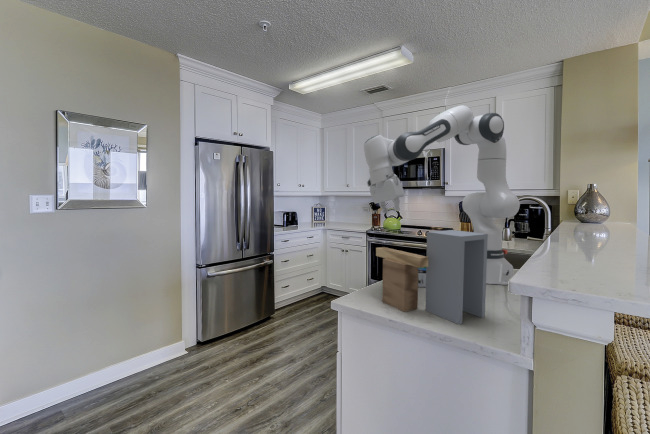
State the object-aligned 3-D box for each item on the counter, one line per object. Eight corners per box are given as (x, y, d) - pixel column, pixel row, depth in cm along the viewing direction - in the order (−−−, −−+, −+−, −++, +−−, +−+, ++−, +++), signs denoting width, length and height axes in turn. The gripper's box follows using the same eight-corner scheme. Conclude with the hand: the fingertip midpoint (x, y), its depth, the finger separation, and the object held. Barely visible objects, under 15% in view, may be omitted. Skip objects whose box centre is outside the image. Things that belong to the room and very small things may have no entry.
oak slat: (383, 254, 120) (383, 247, 120) (428, 266, 101) (428, 257, 100) (376, 255, 118) (376, 247, 118) (419, 267, 99) (420, 258, 99)
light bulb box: (430, 287, 131) (430, 261, 130) (413, 286, 132) (413, 261, 132) (427, 280, 141) (427, 256, 141) (411, 280, 143) (411, 256, 142)
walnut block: (395, 299, 117) (396, 257, 116) (417, 308, 107) (418, 262, 106) (382, 301, 114) (382, 258, 113) (403, 311, 104) (404, 264, 103)
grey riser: (450, 304, 111) (452, 229, 109) (484, 316, 100) (487, 234, 98) (425, 310, 105) (427, 231, 103) (458, 324, 94) (461, 236, 92)
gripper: (402, 170, 115) (412, 207, 115) (378, 180, 135) (386, 212, 135) (387, 173, 113) (397, 211, 113) (365, 183, 133) (373, 215, 133)
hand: (391, 212), depth 124 cm, fingers open, 8 cm apart
